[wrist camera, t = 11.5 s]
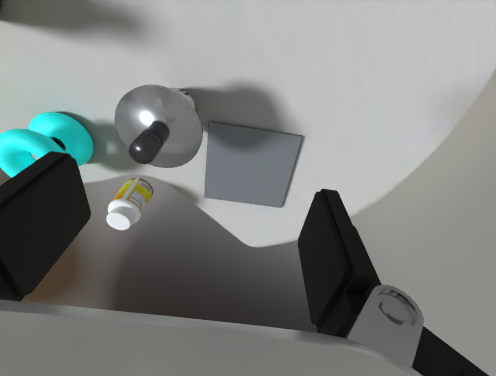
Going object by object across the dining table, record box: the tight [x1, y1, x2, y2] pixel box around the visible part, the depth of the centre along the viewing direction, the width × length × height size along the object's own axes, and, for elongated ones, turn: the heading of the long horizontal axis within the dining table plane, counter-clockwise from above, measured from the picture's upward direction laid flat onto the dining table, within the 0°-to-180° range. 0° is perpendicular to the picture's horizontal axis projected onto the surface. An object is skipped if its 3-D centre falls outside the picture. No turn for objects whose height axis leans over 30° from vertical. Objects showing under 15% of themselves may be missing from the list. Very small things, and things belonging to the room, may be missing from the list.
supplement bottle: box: [107, 177, 153, 230], centre depth 47 cm, size 6×6×10 cm
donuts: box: [0, 112, 93, 178], centre depth 41 cm, size 10×10×10 cm
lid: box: [115, 85, 203, 168], centre depth 31 cm, size 11×11×7 cm
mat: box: [204, 121, 302, 208], centre depth 48 cm, size 16×16×1 cm
